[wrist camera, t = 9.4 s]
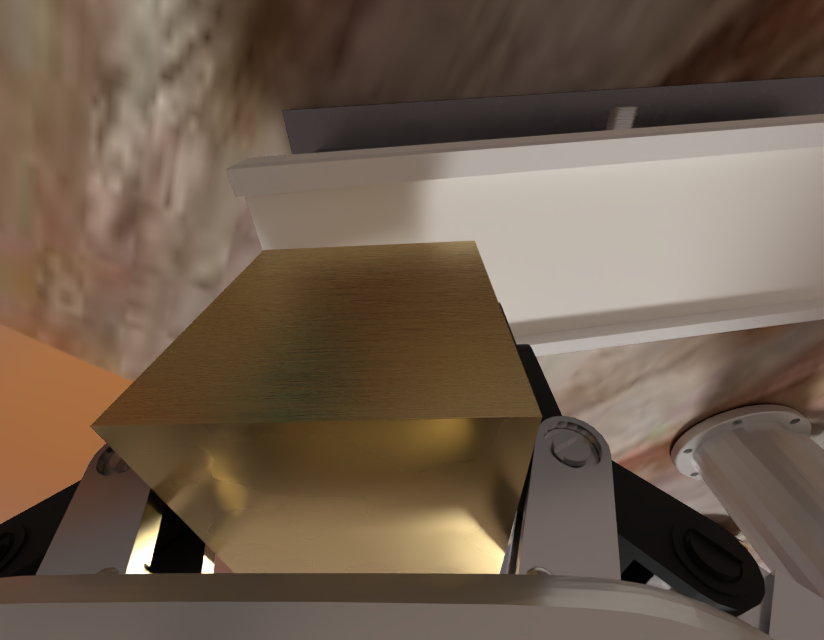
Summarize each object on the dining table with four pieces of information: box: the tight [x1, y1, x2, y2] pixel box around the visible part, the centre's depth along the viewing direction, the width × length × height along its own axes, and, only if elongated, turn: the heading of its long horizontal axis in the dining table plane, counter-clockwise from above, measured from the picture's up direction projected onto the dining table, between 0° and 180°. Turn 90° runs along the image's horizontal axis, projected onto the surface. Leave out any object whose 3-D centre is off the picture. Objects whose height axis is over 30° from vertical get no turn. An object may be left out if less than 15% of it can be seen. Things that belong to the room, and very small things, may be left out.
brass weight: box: [90, 241, 542, 574], centre depth 8 cm, size 6×6×6 cm
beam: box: [226, 114, 824, 356], centre depth 15 cm, size 30×10×2 cm, turn 93°
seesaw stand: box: [282, 76, 824, 154], centre depth 19 cm, size 32×12×7 cm, turn 93°
